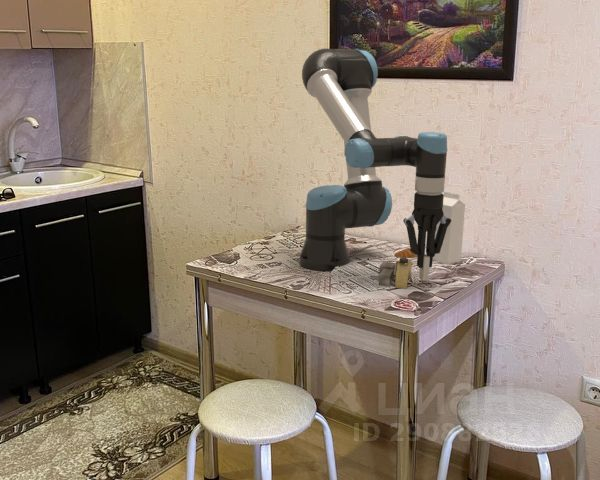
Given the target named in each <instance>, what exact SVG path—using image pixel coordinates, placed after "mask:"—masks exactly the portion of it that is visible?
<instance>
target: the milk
mask: <svg viewBox="0 0 600 480" xmlns="http://www.w3.org/2000/svg"><path fill="white" fill-rule="evenodd" d="M443 195H444V198H443V208H442V210H443V213H444V216H446V217H447V218H449V219H451V223H450V224H449V226H448V227H447V230H446V234H445V237H444V240H443V244H442V247H441V250H440V253H439V254H434V255H435V256H434V257H433V261H436V262H440V263H443V264H446V265H451V264H454V263H458V262H462V247H463V237H464V223H465V209H466V204H465V203H464V202H463V201H462V200H460V197H461V196H460V194H458V193H452V192H448V191H444V192H443ZM439 225H440V221H439V223H438V224H437V225H436V231H435V238H436V234H437V231H438V228H439Z"/></svg>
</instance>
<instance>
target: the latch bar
mask: <svg viewBox="0 0 600 480" xmlns="http://www.w3.org/2000/svg"><path fill="white" fill-rule="evenodd" d="M399 261H400V259H399V260H397V261H395V273H394V276H395V286H394V287H395V288H397V289H408V282H409V279H410V278H411V277H412V264H413V262H412V261H411V260H408V263H401V262H399Z"/></svg>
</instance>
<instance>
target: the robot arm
mask: <svg viewBox="0 0 600 480" xmlns="http://www.w3.org/2000/svg"><path fill="white" fill-rule="evenodd" d="M378 76H379V73H378V65H377V61H376V59H375V57H374V56H373V55H372V53H370V52H369V51H368V50H367V51H366V50H364V49H357V48H353V49H351V48H350V49H346V48H320V49H317V50H315V51H313V52H312V53H311V54H310V55H309V56H308V57H307V58H306V60H305V62H304V63H303V65H302V70H301V79H302V84H303V85H304V88H305V89H306V91H307V93H308V94H309V95H310V96H311V97H313V98H315V99H316V100H317V102H318V104H319V105H320V106H321V108H322V109H323V111H324V112H325V113H326V115H327V117H328V118H329V120H330V121H331V123H332V125H333V126H334V128H335V130H336V131H337V133H338V134H339V135H340V137H341V139H343V144H344V151H343V153H344V157H345V162H346V172H347V180H346V182H345V183H343V185H340V184H333V185H330V184H328V185H327V184H326V185H322V186H317V187H313V188H312V189H310V190H309V191H308V193H307V194H306V202H305V203H306V204H305V240H304V242H303V245H302V248H301V251H300V254H299V265H300V266H301V267H303V268H305V269H308V270H314V271H321V272H323V271H324V272H327V271H329V272H332V271H333V270H334V269H336V268H337V267H342V266H345V265H348V264H349V263H350V261H351V259H350V254H349V251H348V247H347V244H346V240H345V239H346V238H345V237H346V235H345V234H346V230H347V229H354V228H355V229H357V228H364V227H365V228H367V227H369V228H370V227H374V226H379V225H382V224H384V223H385V222H386V221H387V220H388V219H389V216H391V212H392V208H393V197H392V195H391V192H390V190H389V189H388V188H387V187H385V186H383V180H382V179H381V178H379V177H378V176H377V172H376V168H380V167H383V168H384V167H398V166H402V167H403V166H407V167H408V166H409V167H414V168H415V179H414V180H415V181H414V191H415V192H414V197H413V198H414V199H413V211H412V212H411V215H410V216H409V217H408V218H406V217H404V218H403V223H404V225H405V226H406V230H407V236H408V242H409V248H410V249H411V252H412V253H414V254H415V255H417V258H416V259H417V261H416V266H417V267H418V268H419V272H418V273H419V275H418V279H420V280H421V281H429V277H430V276H429V275H430V274H429V273H430V268H433V267H432V266H433V261H434V260H433V257H434V256H435V255H434V254H439V253H440V250H441V247H442V244H443V240H444V237H445V234H446V230H447V227H448V226H449V224H450V223H451V219H449V218H447V217H446V216H444V213H443V210H442V208H443V198H444V192H445V184H446V183H445V182H446V180H445V179H446V165H447V156H448V154H447V153H448V137H447V134H445V133H444V132H434V131H432V132H431V131H422V132H420V133H418V135H417V138H416V137H411V136H408V135H397V136H394V137H377V136H375V134H374V133H373V132H372V128H371V127H372V126H371V119H370V118H371V117H370V116H371V115H370V109H369V108H370V107H369V99H368V98H369V96H370V95H371V94H372V92H373V91H372V89H373V88H374V86H375V85H376V83H377V81H378V80H377V78H378ZM439 221H440V225H439V228H438V231H437V234H436V238H435V231H436V225H437V224H438V223H439ZM415 223H416V224H417V235H416V230H415V226H414V225H415Z"/></svg>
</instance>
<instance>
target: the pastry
mask: <svg viewBox="0 0 600 480" xmlns="http://www.w3.org/2000/svg"><path fill="white" fill-rule="evenodd" d="M393 256H394V257H395V258H399V259H400V258H407V259H417V255H415V254H414V253H412V252H411V249H410V247H406V248H404V249H402V250H399V251H397V252H396V253H394V255H393Z"/></svg>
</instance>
